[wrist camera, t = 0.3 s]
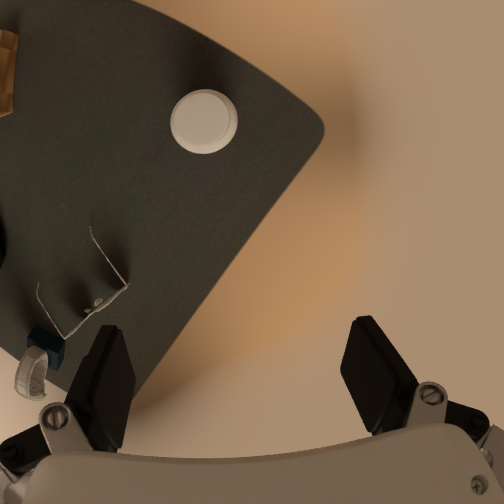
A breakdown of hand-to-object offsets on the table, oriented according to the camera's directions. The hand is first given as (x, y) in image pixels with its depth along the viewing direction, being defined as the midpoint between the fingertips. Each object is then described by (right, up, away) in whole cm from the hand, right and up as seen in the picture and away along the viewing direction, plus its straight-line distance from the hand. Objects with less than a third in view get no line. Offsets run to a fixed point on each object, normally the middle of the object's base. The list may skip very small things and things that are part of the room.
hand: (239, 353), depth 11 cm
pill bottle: (-4, +17, +17) cm, 24 cm away
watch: (-31, -10, +25) cm, 41 cm away
